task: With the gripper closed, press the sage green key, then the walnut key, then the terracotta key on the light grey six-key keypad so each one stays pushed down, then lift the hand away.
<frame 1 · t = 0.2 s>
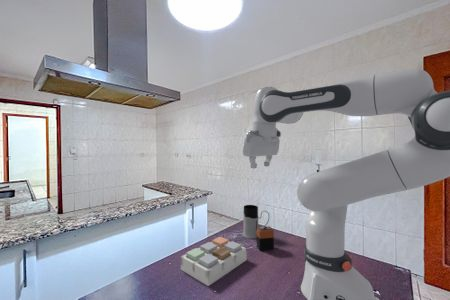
hand: (260, 167, 84), 39 cm above the table, tool pointing down, fingers open, 8 cm apart
key terracotta: (220, 243, 93), point 5 cm above the table, slide at 0.0 cm
key walnut: (221, 255, 83), point 5 cm above the table, slide at 0.0 cm
glass holder: (255, 236, 113), on the table
keypad: (214, 264, 86), on the table
key sage: (195, 256, 83), point 5 cm above the table, slide at 0.0 cm
battery: (265, 248, 99), on the table
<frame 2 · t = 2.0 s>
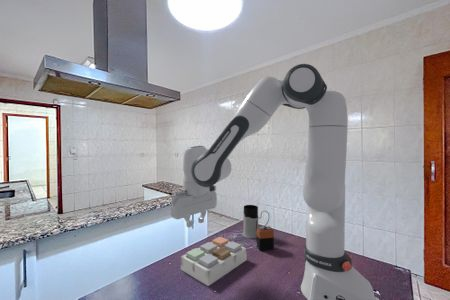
hand: (195, 224, 82), 17 cm above the table, tool pointing down, fingers open, 4 cm apart
nothing on the table moved.
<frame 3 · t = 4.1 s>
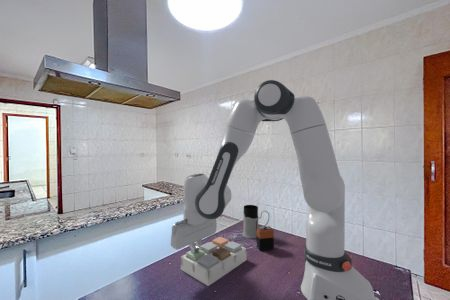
hand: (195, 252, 83), 6 cm above the table, tool pointing down, fingers closed, pressing on key sage
key sage: (195, 256, 83), point 5 cm above the table, slide at 0.0 cm, touching gripper
everything else where it was.
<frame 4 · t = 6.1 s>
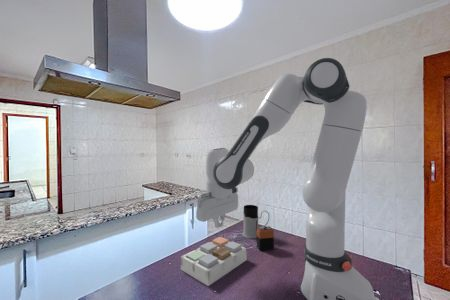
hand: (219, 226, 83), 16 cm above the table, tool pointing down, fingers closed
key sage: (195, 258, 83), point 4 cm above the table, slide at 1.1 cm
everything else where it was.
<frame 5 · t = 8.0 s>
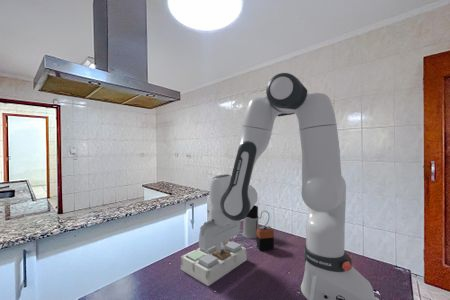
hand: (220, 252, 83), 6 cm above the table, tool pointing down, fingers closed, pressing on key walnut
key walnut: (221, 256, 83), point 5 cm above the table, slide at 0.5 cm, touching gripper
everything else where it was.
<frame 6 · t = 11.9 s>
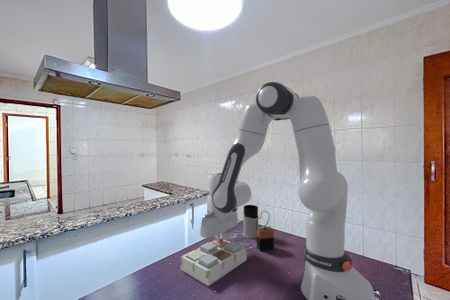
hand: (219, 241, 93), 6 cm above the table, tool pointing down, fingers closed, pressing on key terracotta
key terracotta: (220, 245, 93), point 4 cm above the table, slide at 0.8 cm, touching gripper
key walnut: (221, 257, 83), point 4 cm above the table, slide at 1.1 cm
everything else where it was.
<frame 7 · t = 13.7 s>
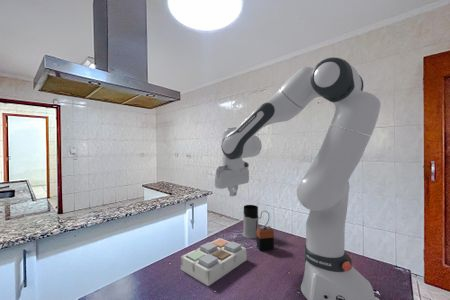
hand: (233, 195, 96), 25 cm above the table, tool pointing down, fingers closed
key terracotta: (220, 245, 93), point 4 cm above the table, slide at 1.1 cm
everything else where it was.
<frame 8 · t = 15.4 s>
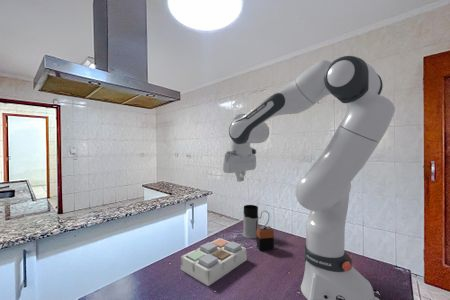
hand: (240, 181, 98), 31 cm above the table, tool pointing down, fingers closed
nothing on the table moved.
at the end: key sage slide at 1.1 cm; key walnut slide at 1.1 cm; key terracotta slide at 1.1 cm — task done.
